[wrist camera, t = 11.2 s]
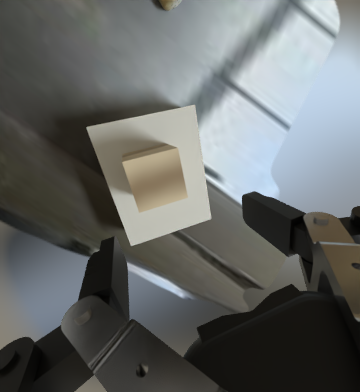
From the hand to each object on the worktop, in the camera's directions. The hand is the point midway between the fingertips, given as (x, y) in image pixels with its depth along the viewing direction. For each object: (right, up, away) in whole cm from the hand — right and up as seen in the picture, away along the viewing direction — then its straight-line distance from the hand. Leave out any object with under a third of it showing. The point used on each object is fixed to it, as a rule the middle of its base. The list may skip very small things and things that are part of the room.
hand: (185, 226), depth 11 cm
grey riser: (-5, +6, +20) cm, 21 cm away
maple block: (-4, +6, +14) cm, 16 cm away
